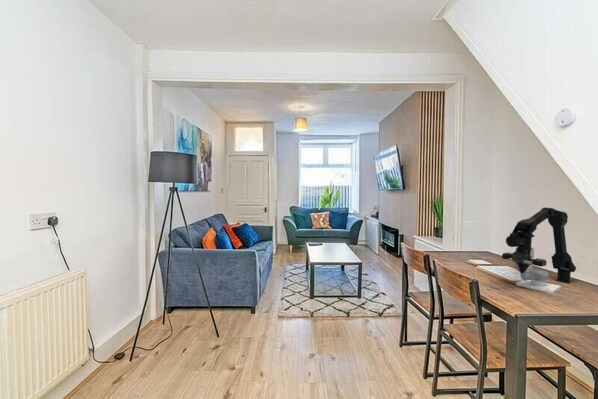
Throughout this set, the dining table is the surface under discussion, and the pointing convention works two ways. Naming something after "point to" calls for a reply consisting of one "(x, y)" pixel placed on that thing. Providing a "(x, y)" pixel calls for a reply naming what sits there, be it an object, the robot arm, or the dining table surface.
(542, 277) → the duct elbow
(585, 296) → the dining table surface
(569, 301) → the dining table surface
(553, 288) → the duct base
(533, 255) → the candy bar box
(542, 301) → the dining table surface
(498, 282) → the dining table surface
